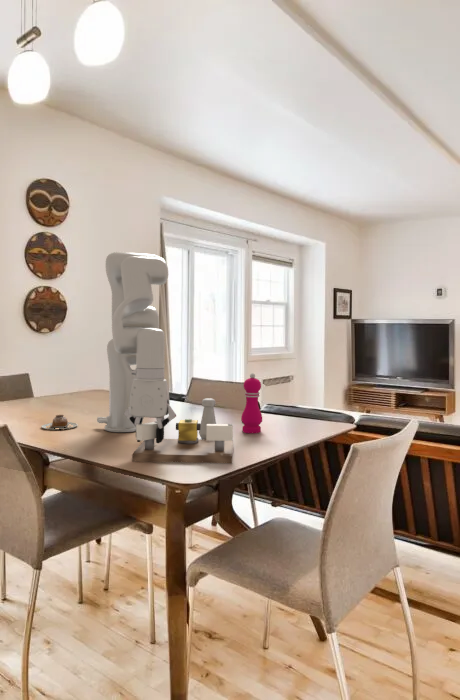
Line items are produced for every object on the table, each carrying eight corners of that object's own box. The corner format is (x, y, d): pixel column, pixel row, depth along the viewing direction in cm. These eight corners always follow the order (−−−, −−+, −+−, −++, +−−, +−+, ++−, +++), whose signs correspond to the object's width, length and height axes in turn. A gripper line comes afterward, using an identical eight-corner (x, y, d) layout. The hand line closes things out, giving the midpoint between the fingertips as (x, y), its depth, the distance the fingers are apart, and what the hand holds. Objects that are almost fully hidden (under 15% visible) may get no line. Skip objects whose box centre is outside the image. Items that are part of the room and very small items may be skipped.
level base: (132, 461, 131) (132, 428, 131) (145, 445, 150) (146, 416, 149) (231, 463, 130) (232, 430, 130) (233, 446, 149) (233, 418, 149)
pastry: (83, 425, 180) (83, 413, 180) (69, 432, 168) (69, 418, 168) (50, 424, 181) (50, 412, 181) (34, 431, 169) (34, 417, 169)
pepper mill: (260, 434, 167) (261, 374, 167) (239, 433, 169) (240, 373, 168) (263, 430, 174) (264, 372, 174) (243, 429, 176) (243, 372, 175)
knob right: (206, 450, 135) (206, 424, 134) (206, 448, 137) (207, 423, 137) (232, 451, 134) (232, 425, 134) (232, 449, 137) (232, 423, 137)
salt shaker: (210, 442, 154) (210, 400, 153) (195, 440, 157) (195, 398, 156) (220, 439, 159) (221, 398, 158) (205, 437, 162) (206, 397, 161)
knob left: (141, 451, 133) (141, 425, 132) (135, 449, 135) (136, 423, 134) (162, 447, 138) (162, 421, 137) (156, 445, 140) (157, 420, 139)
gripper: (115, 374, 133) (114, 442, 134) (176, 376, 130) (175, 446, 131) (126, 372, 141) (125, 436, 141) (184, 374, 137) (183, 440, 138)
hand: (149, 440), depth 136 cm, fingers closed on knob left, 4 cm apart
